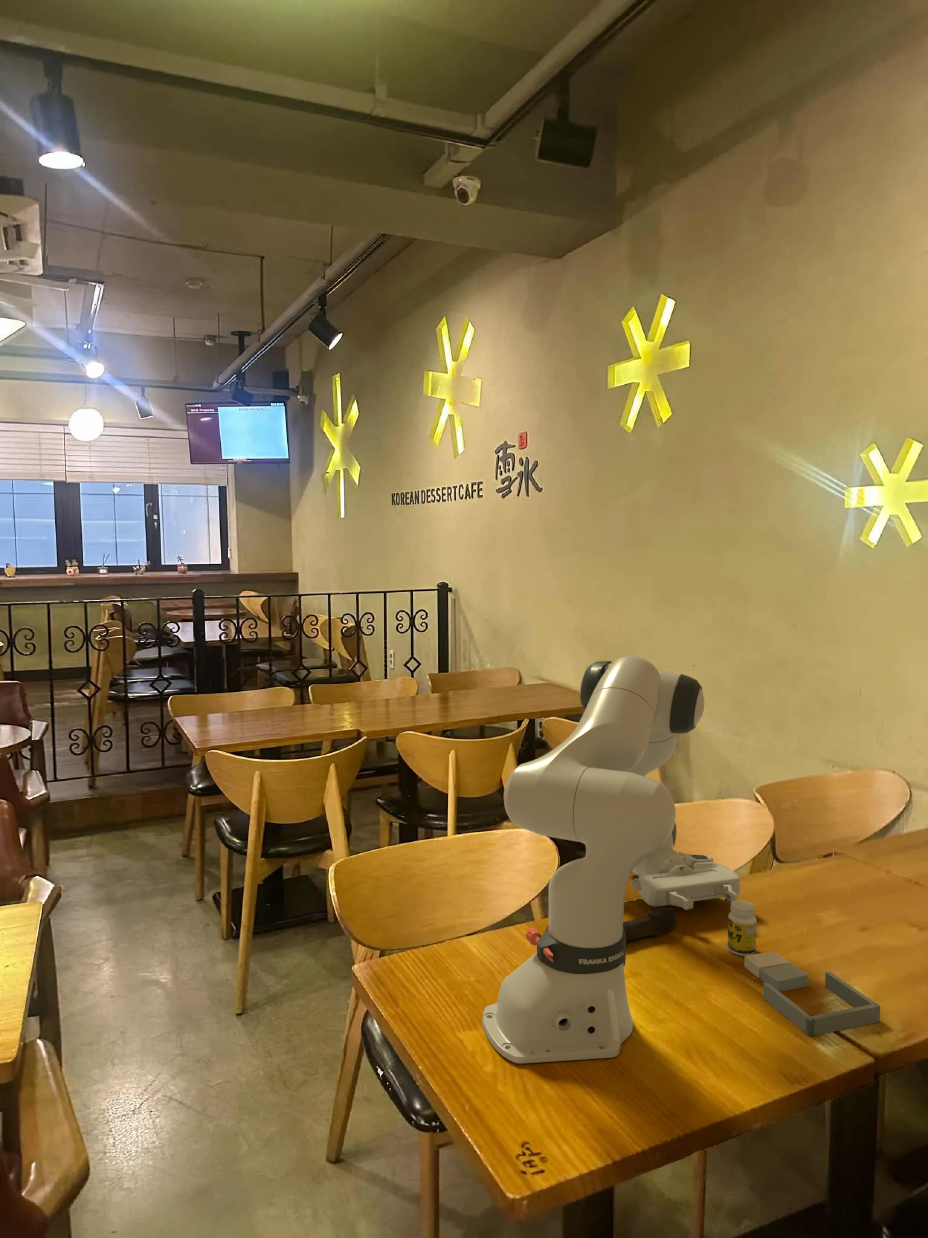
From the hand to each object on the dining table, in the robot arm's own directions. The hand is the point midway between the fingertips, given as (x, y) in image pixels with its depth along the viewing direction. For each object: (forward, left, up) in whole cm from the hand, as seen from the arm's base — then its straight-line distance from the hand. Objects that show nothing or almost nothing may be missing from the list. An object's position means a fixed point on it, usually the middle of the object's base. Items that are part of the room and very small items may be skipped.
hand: (712, 902), depth 154 cm
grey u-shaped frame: (0, -29, -5) cm, 29 cm away
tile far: (0, -16, -5) cm, 17 cm away
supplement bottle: (0, -9, -5) cm, 10 cm away
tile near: (0, -20, -5) cm, 21 cm away
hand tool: (-16, +1, -6) cm, 17 cm away
